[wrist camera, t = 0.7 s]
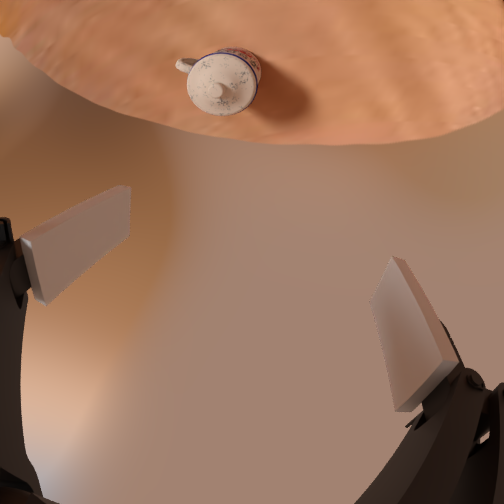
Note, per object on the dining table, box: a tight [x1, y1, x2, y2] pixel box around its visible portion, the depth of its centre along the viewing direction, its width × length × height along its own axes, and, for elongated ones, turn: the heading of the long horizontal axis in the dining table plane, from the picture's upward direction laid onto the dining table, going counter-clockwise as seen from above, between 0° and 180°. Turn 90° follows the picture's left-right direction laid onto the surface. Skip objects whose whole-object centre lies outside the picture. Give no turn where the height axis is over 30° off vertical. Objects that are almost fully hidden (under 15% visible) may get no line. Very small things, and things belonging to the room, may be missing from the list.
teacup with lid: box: [176, 47, 261, 116], centre depth 31 cm, size 12×9×12 cm
